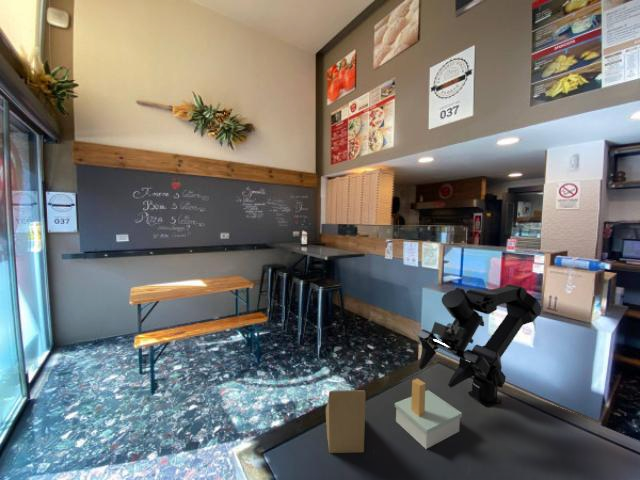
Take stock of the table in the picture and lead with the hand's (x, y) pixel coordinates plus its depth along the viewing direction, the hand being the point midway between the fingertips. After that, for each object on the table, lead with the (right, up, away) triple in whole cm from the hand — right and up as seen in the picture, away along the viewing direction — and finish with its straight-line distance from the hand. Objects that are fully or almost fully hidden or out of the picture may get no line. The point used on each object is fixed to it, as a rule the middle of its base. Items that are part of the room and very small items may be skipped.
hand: (433, 377), depth 71 cm
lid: (-2, -10, 0) cm, 10 cm away
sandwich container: (-24, -13, -1) cm, 27 cm away
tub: (-2, -13, 0) cm, 13 cm away
